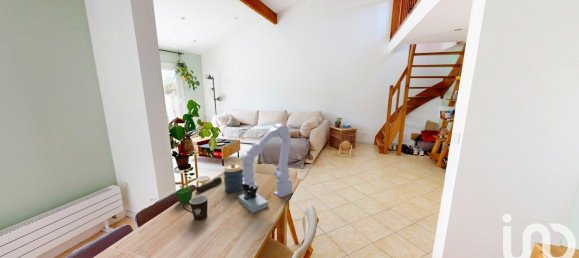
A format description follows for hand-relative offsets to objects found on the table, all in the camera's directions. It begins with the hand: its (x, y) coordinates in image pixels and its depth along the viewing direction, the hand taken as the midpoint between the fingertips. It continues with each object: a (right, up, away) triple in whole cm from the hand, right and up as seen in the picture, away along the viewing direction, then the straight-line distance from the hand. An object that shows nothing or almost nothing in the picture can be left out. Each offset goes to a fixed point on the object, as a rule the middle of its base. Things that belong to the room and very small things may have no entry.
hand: (250, 195), depth 124 cm
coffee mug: (-25, -7, -13) cm, 29 cm away
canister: (-14, -1, +18) cm, 23 cm away
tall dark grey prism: (0, -4, +1) cm, 4 cm away
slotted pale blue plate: (+2, -4, -2) cm, 5 cm away
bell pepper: (-39, -5, +3) cm, 40 cm away
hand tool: (-32, -1, +22) cm, 39 cm away
